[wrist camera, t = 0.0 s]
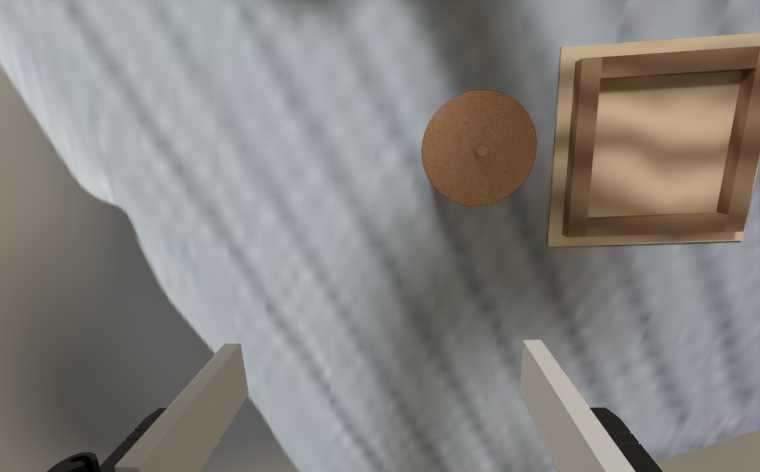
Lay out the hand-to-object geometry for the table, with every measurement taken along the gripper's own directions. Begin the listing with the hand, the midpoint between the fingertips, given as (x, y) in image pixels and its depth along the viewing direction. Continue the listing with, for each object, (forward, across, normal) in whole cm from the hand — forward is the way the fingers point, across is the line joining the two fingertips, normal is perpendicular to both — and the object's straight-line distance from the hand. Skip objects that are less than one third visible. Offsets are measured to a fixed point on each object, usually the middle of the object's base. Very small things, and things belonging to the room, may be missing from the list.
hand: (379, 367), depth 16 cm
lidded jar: (+28, +9, +9) cm, 31 cm away
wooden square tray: (+28, +30, +8) cm, 42 cm away
